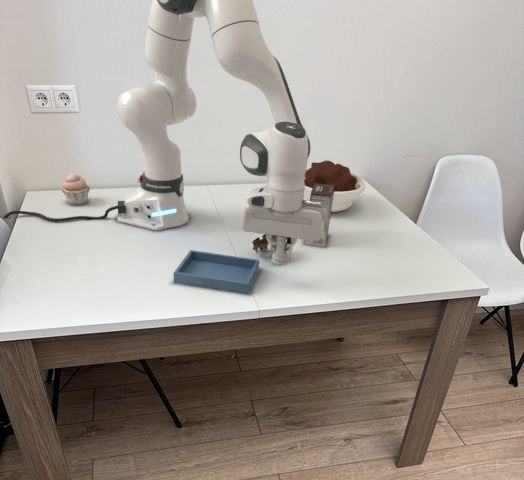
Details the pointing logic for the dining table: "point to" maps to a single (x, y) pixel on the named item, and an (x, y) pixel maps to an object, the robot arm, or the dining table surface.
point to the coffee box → (324, 196)
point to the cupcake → (75, 189)
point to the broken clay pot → (265, 242)
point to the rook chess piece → (280, 251)
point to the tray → (217, 271)
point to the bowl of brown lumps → (334, 183)
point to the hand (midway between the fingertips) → (280, 250)
